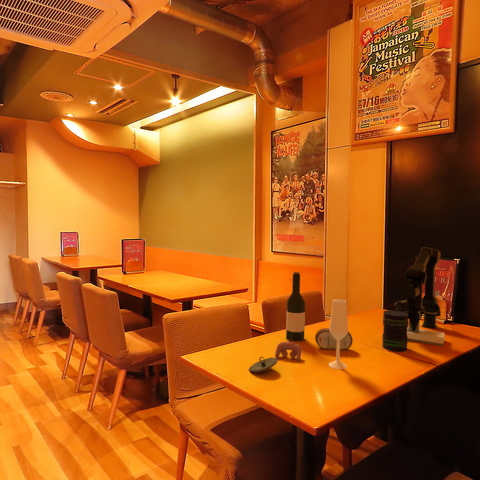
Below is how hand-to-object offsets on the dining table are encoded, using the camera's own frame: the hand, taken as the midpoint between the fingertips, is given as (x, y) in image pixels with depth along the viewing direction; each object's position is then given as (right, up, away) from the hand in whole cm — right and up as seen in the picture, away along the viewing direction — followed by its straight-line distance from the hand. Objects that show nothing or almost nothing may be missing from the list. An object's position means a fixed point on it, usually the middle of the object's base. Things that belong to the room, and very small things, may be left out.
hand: (414, 329), depth 174 cm
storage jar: (-14, -5, -13) cm, 20 cm away
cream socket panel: (0, -4, 0) cm, 4 cm away
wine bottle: (-55, -4, -3) cm, 55 cm away
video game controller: (-61, -5, -27) cm, 67 cm away
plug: (0, -2, 0) cm, 2 cm away
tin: (-41, -5, -16) cm, 44 cm away
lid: (-71, -5, -40) cm, 82 cm away
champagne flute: (-44, -5, -34) cm, 56 cm away
